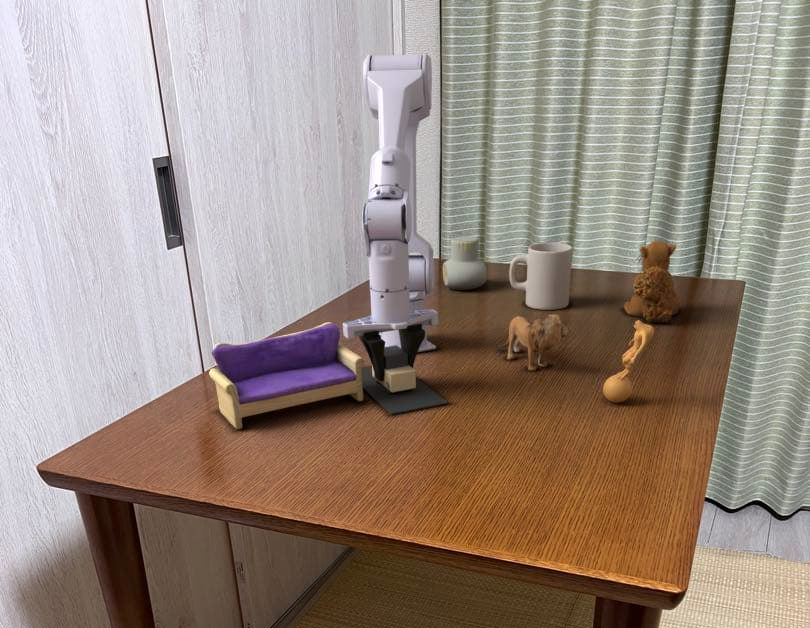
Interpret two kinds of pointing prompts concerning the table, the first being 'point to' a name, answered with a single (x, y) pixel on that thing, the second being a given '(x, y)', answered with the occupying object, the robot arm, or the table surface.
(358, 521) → the table surface
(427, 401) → the mat
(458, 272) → the air freshener
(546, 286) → the mug
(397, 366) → the toy car
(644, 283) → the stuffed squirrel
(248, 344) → the toy sofa
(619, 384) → the figurine
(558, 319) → the lion figurine
